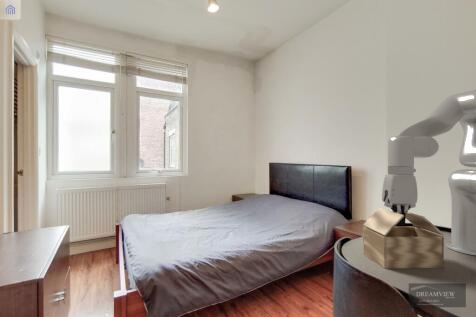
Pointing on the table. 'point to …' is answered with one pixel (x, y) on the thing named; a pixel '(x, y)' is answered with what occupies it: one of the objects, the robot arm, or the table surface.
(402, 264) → the carton
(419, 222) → the flap
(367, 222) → the flap
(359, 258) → the table surface
